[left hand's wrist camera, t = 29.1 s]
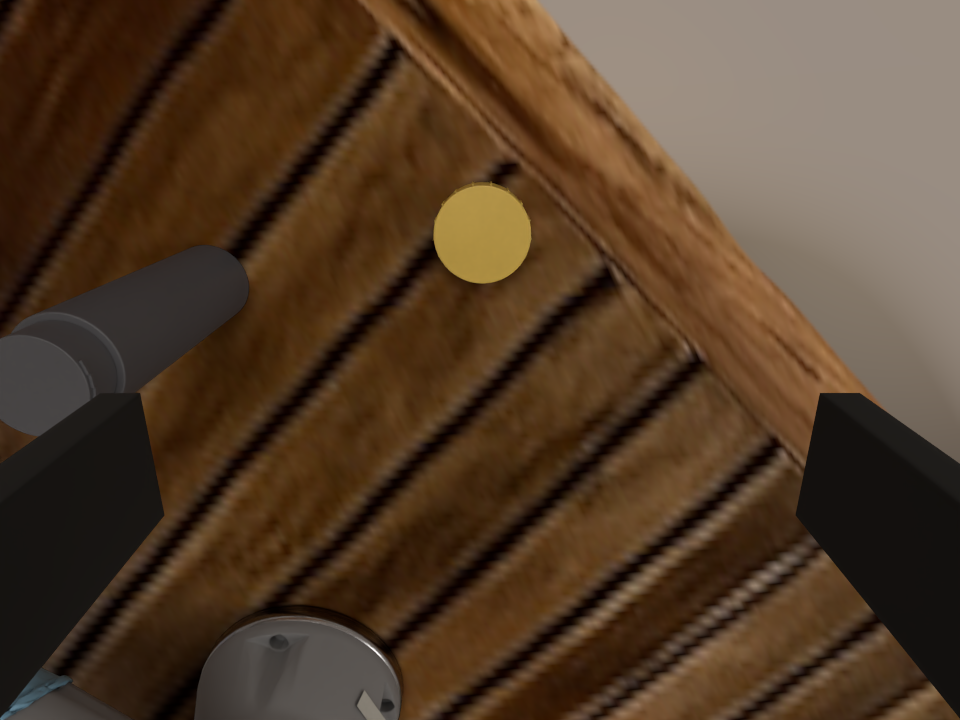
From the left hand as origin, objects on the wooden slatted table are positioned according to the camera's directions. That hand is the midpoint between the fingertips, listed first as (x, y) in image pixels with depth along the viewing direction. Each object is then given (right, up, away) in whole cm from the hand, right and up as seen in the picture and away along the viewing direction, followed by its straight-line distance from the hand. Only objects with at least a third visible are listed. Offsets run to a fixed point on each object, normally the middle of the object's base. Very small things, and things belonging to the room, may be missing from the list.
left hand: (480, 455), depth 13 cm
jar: (-16, +7, +27) cm, 32 cm away
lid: (0, +9, +24) cm, 25 cm away
